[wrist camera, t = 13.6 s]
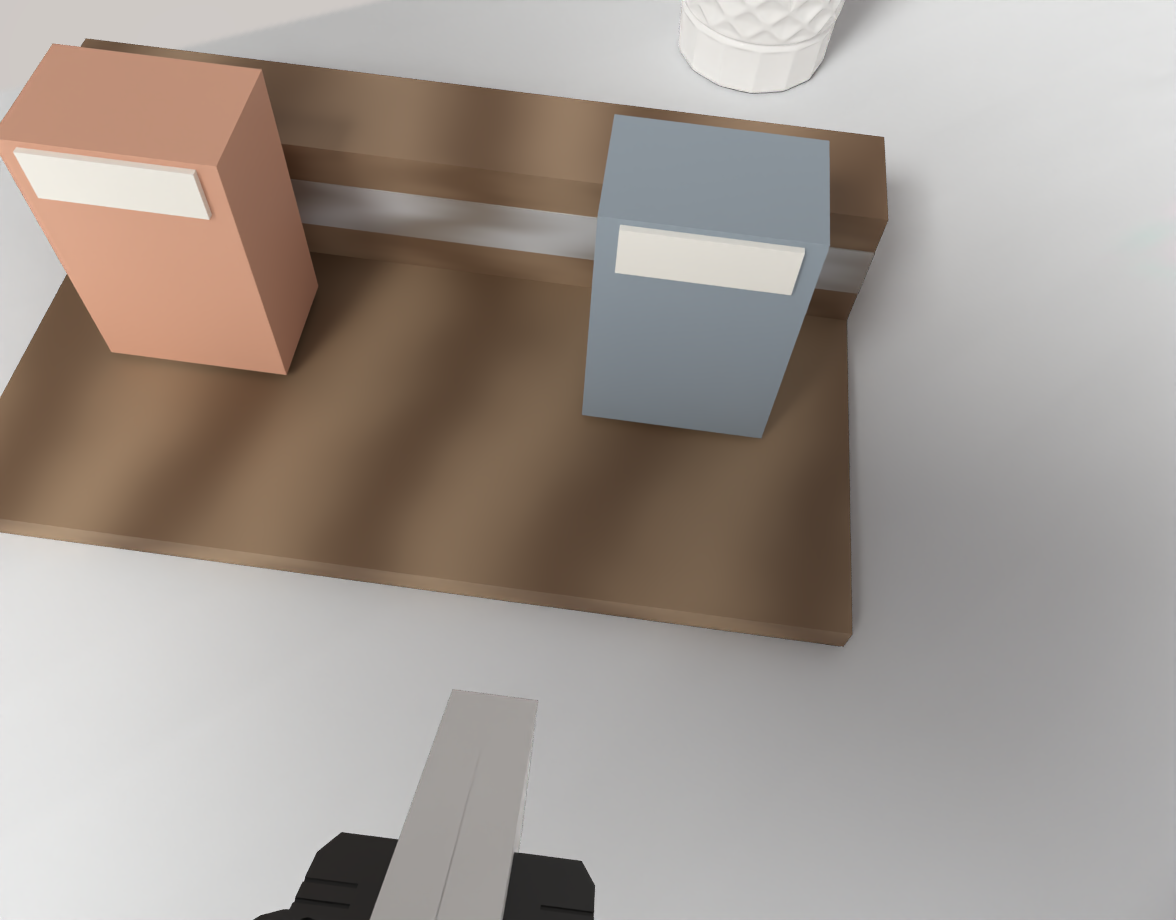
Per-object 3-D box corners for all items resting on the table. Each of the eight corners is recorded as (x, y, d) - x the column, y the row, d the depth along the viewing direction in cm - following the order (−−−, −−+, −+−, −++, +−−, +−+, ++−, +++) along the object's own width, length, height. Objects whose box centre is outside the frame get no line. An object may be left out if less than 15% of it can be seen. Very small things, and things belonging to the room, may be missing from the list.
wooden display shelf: (-46, 526, 32) (-155, 417, 27) (141, 171, 40) (85, 38, 35) (843, 646, 31) (904, 559, 26) (838, 259, 40) (884, 137, 35)
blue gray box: (581, 419, 33) (596, 221, 26) (596, 323, 36) (614, 114, 28) (761, 443, 33) (830, 251, 26) (764, 344, 36) (829, 140, 28)
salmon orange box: (108, 356, 34) (-13, 143, 26) (153, 265, 36) (52, 43, 28) (284, 379, 34) (213, 171, 26) (318, 286, 36) (261, 69, 28)
